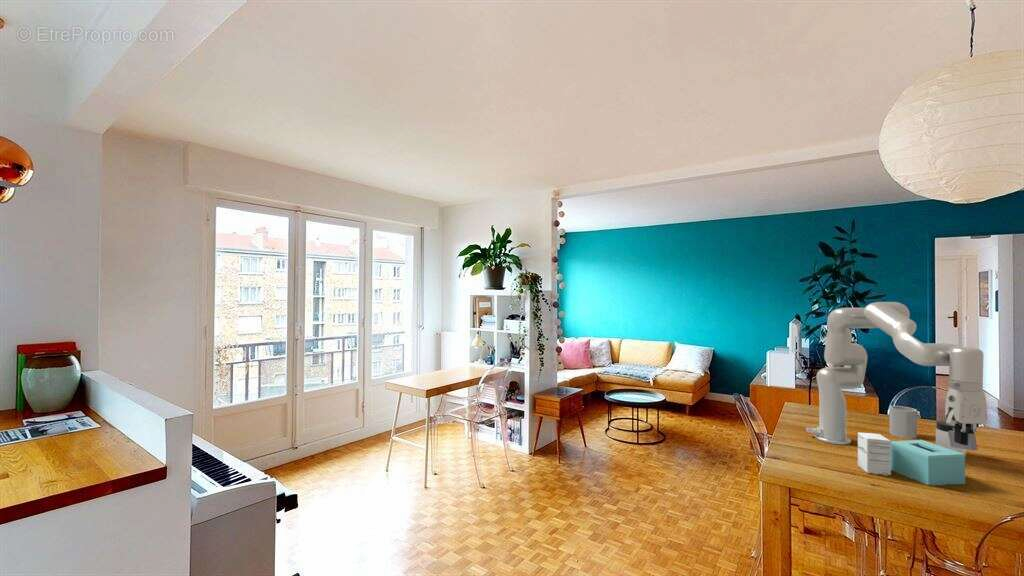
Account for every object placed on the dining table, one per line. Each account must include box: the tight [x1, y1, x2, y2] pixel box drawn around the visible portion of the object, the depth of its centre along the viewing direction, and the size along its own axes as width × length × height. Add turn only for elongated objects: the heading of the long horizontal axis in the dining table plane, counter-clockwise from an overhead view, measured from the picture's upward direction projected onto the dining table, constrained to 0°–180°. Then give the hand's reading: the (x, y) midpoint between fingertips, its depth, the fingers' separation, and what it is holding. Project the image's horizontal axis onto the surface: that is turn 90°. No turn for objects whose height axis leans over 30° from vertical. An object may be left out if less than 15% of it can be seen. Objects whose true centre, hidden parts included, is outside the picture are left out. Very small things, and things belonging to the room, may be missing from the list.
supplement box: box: [857, 431, 892, 476], centre depth 158 cm, size 7×7×13 cm
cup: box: [889, 405, 918, 439], centre depth 197 cm, size 9×9×12 cm
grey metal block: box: [948, 431, 979, 451], centre depth 140 cm, size 2×6×5 cm, turn 6°
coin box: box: [890, 439, 966, 486], centre depth 154 cm, size 14×14×10 cm
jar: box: [935, 420, 967, 457], centre depth 174 cm, size 9×8×12 cm
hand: (964, 443), depth 139 cm, fingers closed on grey metal block, 1 cm apart
